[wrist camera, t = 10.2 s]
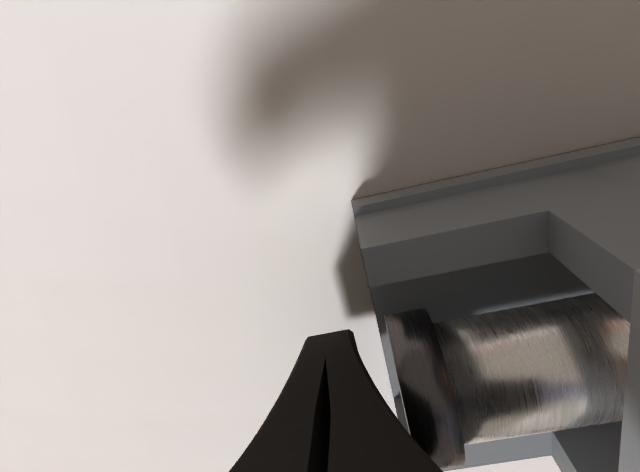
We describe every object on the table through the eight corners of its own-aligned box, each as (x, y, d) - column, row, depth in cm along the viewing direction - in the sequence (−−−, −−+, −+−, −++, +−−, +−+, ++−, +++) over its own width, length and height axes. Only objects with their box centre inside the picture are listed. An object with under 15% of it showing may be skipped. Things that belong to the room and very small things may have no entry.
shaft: (653, 234, 10) (808, 319, 7) (642, 347, 12) (766, 461, 8) (378, 288, 11) (401, 388, 8) (399, 388, 12) (426, 509, 9)
